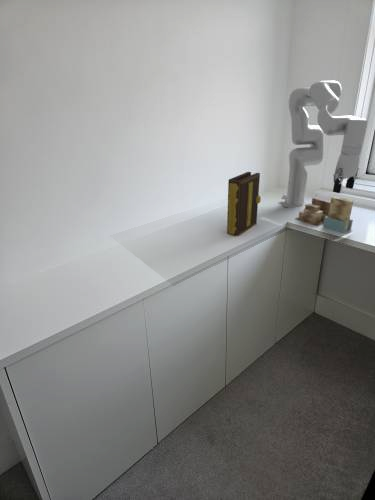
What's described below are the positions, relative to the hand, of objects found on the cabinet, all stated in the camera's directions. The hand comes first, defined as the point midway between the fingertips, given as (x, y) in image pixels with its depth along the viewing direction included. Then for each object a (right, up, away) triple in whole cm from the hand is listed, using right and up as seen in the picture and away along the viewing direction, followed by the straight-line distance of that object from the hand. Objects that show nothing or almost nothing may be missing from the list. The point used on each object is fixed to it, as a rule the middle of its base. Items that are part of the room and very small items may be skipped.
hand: (342, 190), depth 143 cm
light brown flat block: (+1, -16, +7) cm, 18 cm away
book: (-42, -16, +14) cm, 47 cm away
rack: (-6, -12, +19) cm, 23 cm away
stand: (+1, -17, +8) cm, 19 cm away
